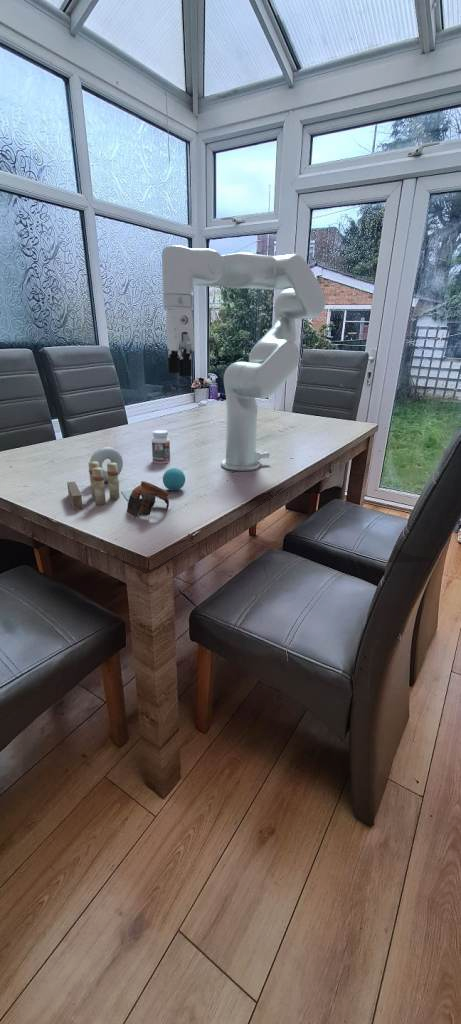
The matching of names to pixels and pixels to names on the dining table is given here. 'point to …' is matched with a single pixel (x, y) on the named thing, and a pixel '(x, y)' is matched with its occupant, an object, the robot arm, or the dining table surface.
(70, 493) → the stopper strip
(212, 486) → the dining table surface
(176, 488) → the ball
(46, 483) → the dining table surface
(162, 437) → the pill bottle
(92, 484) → the pin
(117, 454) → the donut
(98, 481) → the pin
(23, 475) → the dining table surface
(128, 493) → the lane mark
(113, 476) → the front pin
